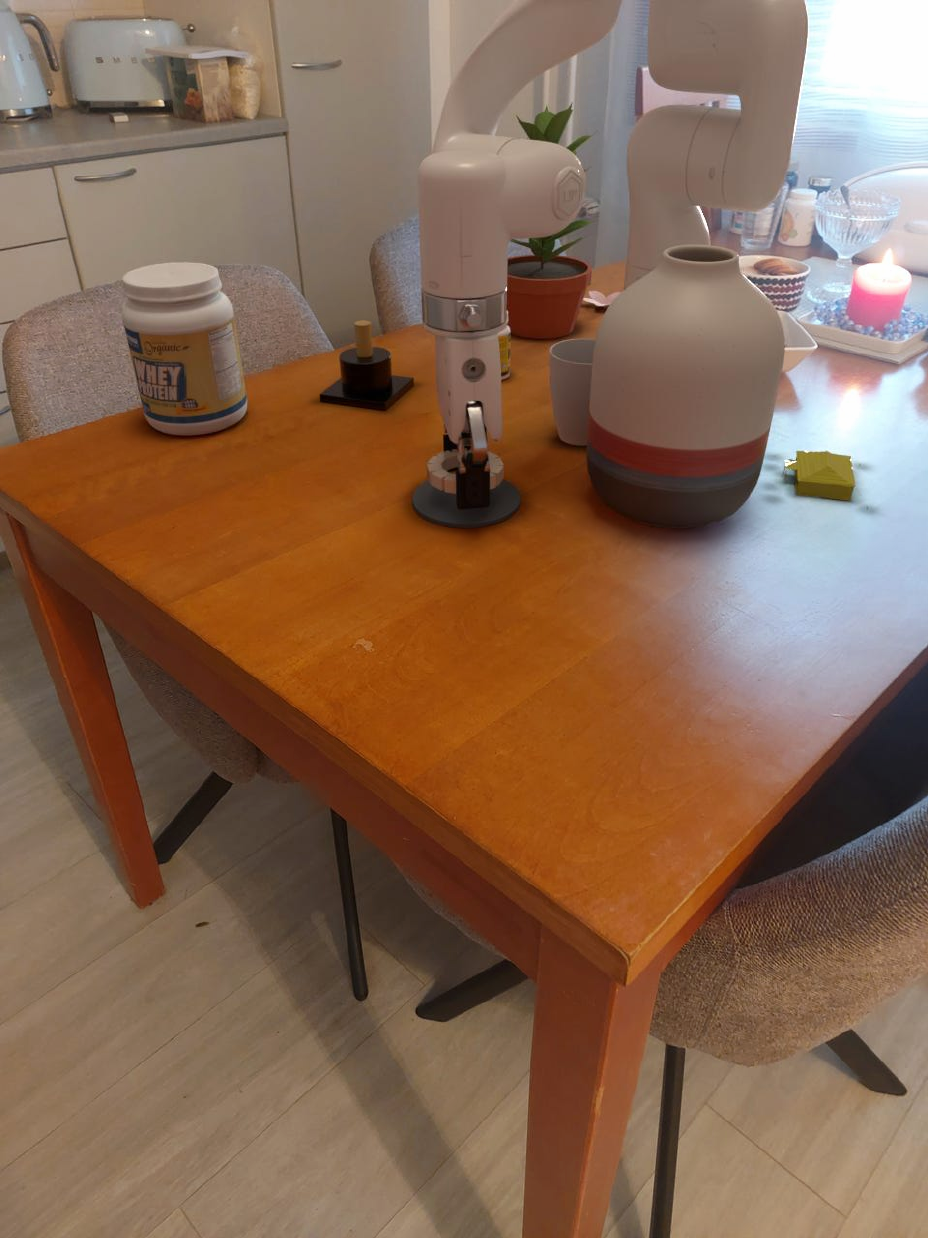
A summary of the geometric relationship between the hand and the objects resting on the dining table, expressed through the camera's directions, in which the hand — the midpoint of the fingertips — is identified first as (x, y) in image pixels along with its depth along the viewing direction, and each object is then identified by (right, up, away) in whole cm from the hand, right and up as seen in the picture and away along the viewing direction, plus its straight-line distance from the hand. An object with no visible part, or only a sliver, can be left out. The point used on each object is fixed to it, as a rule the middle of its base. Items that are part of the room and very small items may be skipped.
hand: (466, 486), depth 89 cm
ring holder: (-13, +16, +25) cm, 32 cm away
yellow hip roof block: (+37, +1, +4) cm, 37 cm away
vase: (+20, -1, +1) cm, 20 cm away
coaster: (0, -1, +1) cm, 2 cm away
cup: (+13, +8, +13) cm, 20 cm away
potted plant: (+11, +31, +45) cm, 56 cm away
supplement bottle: (+3, +19, +30) cm, 35 cm away
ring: (0, +1, -1) cm, 1 cm away
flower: (+22, +37, +54) cm, 69 cm away
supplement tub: (-32, +11, +19) cm, 39 cm away
